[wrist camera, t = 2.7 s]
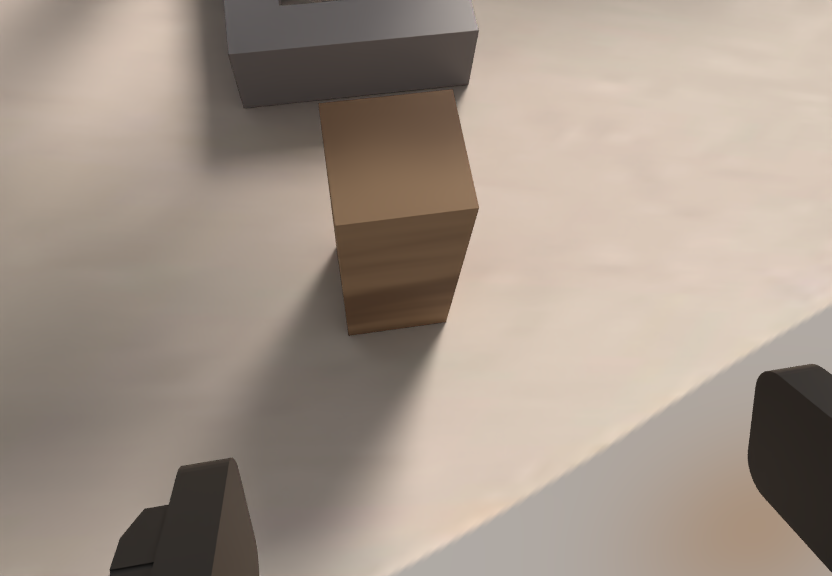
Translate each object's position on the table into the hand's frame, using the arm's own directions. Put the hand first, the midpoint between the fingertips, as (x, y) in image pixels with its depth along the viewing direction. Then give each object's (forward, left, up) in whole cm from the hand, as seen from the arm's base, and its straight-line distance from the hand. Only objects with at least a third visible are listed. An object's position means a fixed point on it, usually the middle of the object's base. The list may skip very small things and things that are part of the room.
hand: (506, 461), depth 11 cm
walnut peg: (+5, +9, -19) cm, 22 cm away
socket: (+13, +23, -19) cm, 33 cm away
